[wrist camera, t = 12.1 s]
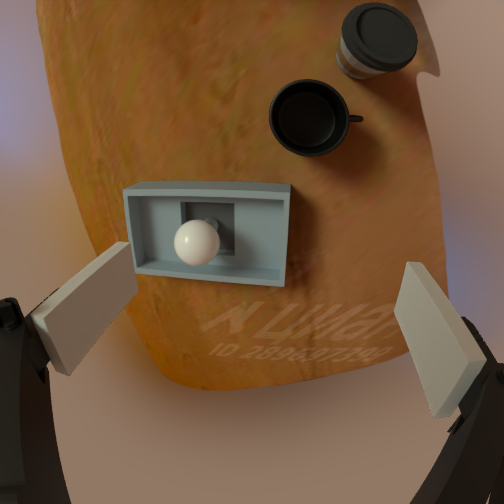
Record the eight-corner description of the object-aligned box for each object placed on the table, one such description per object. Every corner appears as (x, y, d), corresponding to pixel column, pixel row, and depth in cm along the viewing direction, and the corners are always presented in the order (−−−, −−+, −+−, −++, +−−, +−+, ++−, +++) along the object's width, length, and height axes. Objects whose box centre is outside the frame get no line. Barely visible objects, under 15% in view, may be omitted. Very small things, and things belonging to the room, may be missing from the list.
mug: (357, 151, 40) (371, 157, 32) (276, 151, 42) (271, 158, 34) (354, 89, 37) (368, 80, 28) (271, 89, 38) (265, 80, 30)
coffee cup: (353, 96, 37) (381, 82, 23) (317, 52, 35) (327, 18, 21) (394, 69, 34) (436, 49, 20) (359, 26, 32) (385, -12, 18)
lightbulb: (186, 213, 48) (158, 237, 38) (221, 199, 46) (201, 222, 36) (202, 247, 50) (179, 279, 40) (236, 236, 48) (221, 267, 38)
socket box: (140, 181, 47) (122, 189, 41) (290, 184, 44) (289, 192, 38) (148, 257, 52) (133, 272, 47) (285, 268, 49) (284, 286, 44)
